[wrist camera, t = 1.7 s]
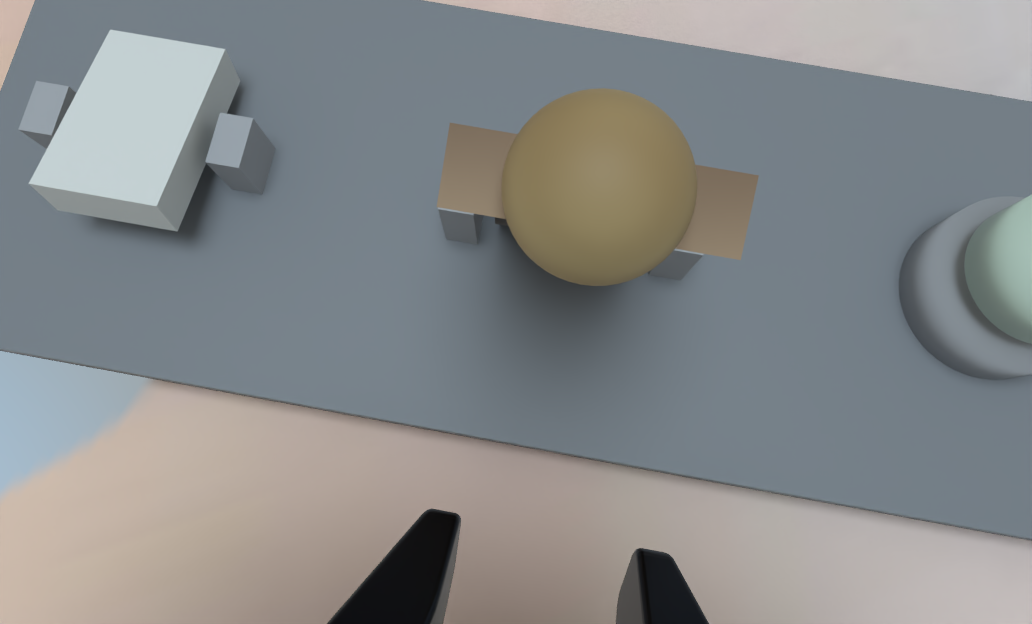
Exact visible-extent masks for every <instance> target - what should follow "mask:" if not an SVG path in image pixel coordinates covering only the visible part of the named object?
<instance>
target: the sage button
mask: <svg viewBox="0 0 1032 624" xmlns="http://www.w3.org/2000/svg"><path fill="white" fill-rule="evenodd" d="M964 268H965V277H966V282H967V285H968V288H969V291H970V293H971V296H972V298H973V300H974V301H975V303H976V305H977V306H978V308H979V309H980V310H981V312H982V313H983V314H984V316H985V317H986V318H987V319H988V320H989V321H990V322H991V323H992V324H994V325H995V326H996V327H997V328H998V329H1000V330H1001V331H1003V332H1004V333H1006V334H1007V335H1009V336H1011V337H1013V338H1015V339H1018V340H1020V341H1023V342H1026V343H1030V344H1032V195H1030V196H1028V197H1026V198H1024V199H1022V200H1020V201H1019V202H1017V203H1015V204H1013V205H1011V206H1009V207H1007V208H1005V209H1003V210H1001V211H1000V212H998V213H996V214H994V215H992V216H991V217H989V218H987V219H986V220H985V221H984V222H983V223H981V224H980V226H979V227H978V228H977V229H976V230H975V232H974V233H973V235H972V236H971V238H970V241H969V243H968V245H967V249H966V253H965V261H964Z"/></svg>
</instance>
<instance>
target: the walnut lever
mask: <svg viewBox="0 0 1032 624" xmlns="http://www.w3.org/2000/svg"><path fill="white" fill-rule="evenodd" d="M758 177H759V175H753V174H748V173H742V172H736V171H730V170H724V169H718V168H713V167H707V166H701V165H695V162H694V158H693V154H692V152H691V149H690V147H689V144H688V142H687V140H686V138H685V137H684V135H683V133H682V131H681V130H680V129H679V127H678V126H677V125H676V123H675V122H674V121H673V120H672V119H671V118H670V117H669V116H668V115H667V114H666V113H665V112H664V111H663V110H662V109H660V108H659V107H658V106H656V105H655V104H653V103H652V102H650V101H648V100H646V99H644V98H643V97H640V96H638V95H635V94H632V93H629V92H625V91H621V90H616V89H606V88H600V89H587V90H581V91H577V92H573V93H570V94H567V95H564V96H562V97H560V98H558V99H556V100H554V101H552V102H551V103H549V104H547V105H546V106H544V107H543V108H542V109H540V110H539V111H538V112H537V113H536V114H534V115H533V116H532V117H531V118H530V119H529V120H528V122H527V123H526V124H525V125H524V126H523V127H522V129H521V130H520V132H519V133H518V134H514V133H508V132H502V131H496V130H491V129H485V128H479V127H473V126H467V125H461V124H456V123H450V125H449V131H448V138H447V144H446V150H445V157H444V163H443V169H442V176H441V182H440V189H439V195H438V201H437V207H439V208H445V209H451V210H457V211H462V212H468V213H474V214H479V215H485V216H491V217H495V224H498V225H504V226H509V228H510V230H511V233H512V235H513V236H514V238H515V240H516V241H517V243H518V245H519V246H520V247H521V249H522V250H523V251H524V252H525V254H526V255H527V256H528V257H529V258H530V259H531V260H532V261H533V262H534V263H536V264H537V265H538V266H540V267H541V268H542V269H544V270H545V271H547V272H548V273H550V274H552V275H554V276H556V277H558V278H561V279H563V280H566V281H568V282H572V283H576V284H580V285H589V286H608V285H614V284H620V283H623V282H627V281H630V280H633V279H635V278H637V277H640V276H642V275H644V274H645V273H647V272H649V271H651V270H652V269H654V268H655V267H656V266H658V265H659V264H660V263H661V262H663V261H664V260H665V259H666V258H667V257H668V256H669V255H670V254H671V253H672V252H673V250H674V249H680V250H685V251H691V252H697V253H703V254H708V255H714V256H720V257H725V258H731V259H737V260H741V256H742V252H743V247H744V242H745V238H746V233H747V228H748V224H749V219H750V215H751V210H752V205H753V201H754V196H755V191H756V187H757V182H758Z"/></svg>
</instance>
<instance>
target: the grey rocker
mask: <svg viewBox="0 0 1032 624" xmlns="http://www.w3.org/2000/svg"><path fill="white" fill-rule="evenodd" d="M239 83H240V79H239V77H238V75H237V73H236V71H235V68H234V66H233V64H232V62H231V60H230V58H229V56H228V54H227V51H226V49H222V48H216V47H210V46H204V45H198V44H193V43H187V42H181V41H175V40H169V39H163V38H157V37H151V36H145V35H140V34H134V33H128V32H122V31H116V30H110V31H109V33H108V35H107V36H106V38H105V40H104V42H103V44H102V46H101V48H100V50H99V52H98V53H97V55H96V57H95V59H94V61H93V63H92V65H91V67H90V69H89V70H88V72H87V74H86V76H85V78H84V80H83V82H82V84H81V86H80V87H79V89H78V91H77V93H76V95H75V97H74V99H73V101H72V103H71V104H70V106H69V108H68V110H67V112H66V114H65V116H64V118H63V120H62V121H61V123H60V125H59V127H58V129H57V131H56V133H55V135H54V137H53V138H52V140H51V142H50V144H49V146H48V148H47V150H46V152H45V154H44V155H43V157H42V159H41V161H40V163H39V165H38V167H37V169H36V171H35V172H34V174H33V176H32V178H31V180H30V182H29V184H30V185H31V186H32V187H33V188H34V189H35V190H36V191H37V192H38V193H39V194H40V195H42V196H43V197H44V198H45V199H46V200H47V201H48V202H49V203H50V204H51V205H52V206H54V207H55V208H56V209H57V210H59V211H65V212H70V213H76V214H82V215H87V216H93V217H98V218H104V219H110V220H115V221H121V222H127V223H132V224H138V225H143V226H149V227H155V228H160V229H166V230H172V231H177V232H178V229H179V227H180V224H181V222H182V220H183V217H184V215H185V212H186V210H187V208H188V205H189V203H190V200H191V198H192V196H193V193H194V191H195V189H196V186H197V184H198V181H199V179H200V177H201V174H202V172H203V169H204V167H205V165H206V163H205V161H206V157H207V154H208V151H209V148H210V144H211V141H212V138H213V134H214V131H215V128H216V124H217V121H218V118H219V114H220V113H226V114H227V112H228V109H229V107H230V105H231V102H232V100H233V97H234V95H235V93H236V90H237V88H238V86H239Z"/></svg>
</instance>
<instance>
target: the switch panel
mask: <svg viewBox="0 0 1032 624" xmlns="http://www.w3.org/2000/svg"><path fill="white" fill-rule="evenodd" d="M110 30H116V31H122V32H128V33H134V34H140V35H145V36H151V37H157V38H163V39H169V40H175V41H181V42H187V43H193V44H198V45H204V46H210V47H216V48H222V49H226V51H227V54H228V56H229V58H230V60H231V62H232V64H233V66H234V68H235V71H236V73H237V75H238V77H239V79H240V83H239V86H238V88H237V90H236V93H235V95H234V97H233V100H232V102H231V105H230V107H229V109H228V112H227V114H226V113H220V114H219V118H218V121H217V124H216V128H215V131H214V134H213V138H212V141H211V144H210V148H209V151H208V154H207V157H206V161H205V163H206V165H205V167H204V169H203V172H202V174H201V177H200V179H199V181H198V184H197V186H196V189H195V191H194V193H193V196H192V198H191V200H190V203H189V205H188V208H187V210H186V212H185V215H184V217H183V220H182V222H181V224H180V227H179V229H178V232H177V231H172V230H166V229H160V228H155V227H149V226H143V225H138V224H132V223H127V222H121V221H115V220H110V219H104V218H98V217H93V216H87V215H82V214H76V213H70V212H65V211H59V210H57V209H56V208H55V207H54V206H52V205H51V204H50V203H49V202H48V201H47V200H46V199H45V198H44V197H43V196H42V195H40V194H39V193H38V192H37V191H36V190H35V189H34V188H33V187H32V186H31V185H30V184H29V182H30V180H31V178H32V176H33V174H34V172H35V171H36V169H37V167H38V165H39V163H40V161H41V159H42V157H43V155H44V154H45V152H46V150H47V148H48V146H49V144H50V142H51V140H52V138H53V137H54V135H55V133H56V131H57V129H58V127H59V125H60V123H61V121H62V120H63V118H64V116H65V114H66V112H67V110H68V108H69V106H70V104H71V103H72V101H73V99H74V97H75V95H76V93H77V91H78V89H79V87H80V86H81V84H82V82H83V80H84V78H85V76H86V74H87V72H88V70H89V69H90V67H91V65H92V63H93V61H94V59H95V57H96V55H97V53H98V52H99V50H100V48H101V46H102V44H103V42H104V40H105V38H106V36H107V35H108V33H109V31H110ZM600 88H606V89H616V90H621V91H625V92H629V93H632V94H635V95H638V96H640V97H643V98H644V99H646V100H648V101H650V102H652V103H653V104H655V105H656V106H658V107H659V108H660V109H662V110H663V111H664V112H665V113H666V114H667V115H668V116H669V117H670V118H671V119H672V120H673V121H674V122H675V123H676V125H677V126H678V127H679V129H680V130H681V131H682V133H683V135H684V137H685V138H686V140H687V142H688V144H689V147H690V149H691V152H692V154H693V158H694V162H695V165H701V166H707V167H713V168H718V169H724V170H730V171H736V172H742V173H748V174H753V175H759V177H758V182H757V187H756V191H755V196H754V201H753V205H752V210H751V215H750V219H749V224H748V228H747V233H746V238H745V242H744V247H743V252H742V256H741V260H737V259H731V258H725V257H720V256H714V255H708V254H703V253H697V252H691V251H685V250H680V249H674V250H673V252H672V253H671V254H670V255H669V256H668V257H667V258H666V259H665V260H664V261H663V262H661V263H660V264H659V265H658V266H656V267H655V268H654V269H652V270H651V271H649V272H647V273H645V274H644V275H642V276H640V277H637V278H635V279H633V280H630V281H627V282H623V283H620V284H614V285H608V286H589V285H580V284H576V283H572V282H568V281H566V280H563V279H561V278H558V277H556V276H554V275H552V274H550V273H548V272H547V271H545V270H544V269H542V268H541V267H540V266H538V265H537V264H536V263H534V262H533V261H532V260H531V259H530V258H529V257H528V256H527V255H526V254H525V252H524V251H523V250H522V249H521V247H520V246H519V245H518V243H517V241H516V240H515V238H514V236H513V235H512V233H511V230H510V228H509V226H504V225H498V224H495V217H491V216H485V215H479V214H474V213H468V212H462V211H457V210H451V209H445V208H439V207H437V201H438V195H439V189H440V182H441V176H442V169H443V163H444V157H445V150H446V144H447V138H448V131H449V125H450V123H456V124H461V125H467V126H473V127H479V128H485V129H491V130H496V131H502V132H508V133H514V134H518V133H519V132H520V130H521V129H522V127H523V126H524V125H525V124H526V123H527V122H528V120H529V119H530V118H531V117H532V116H533V115H534V114H536V113H537V112H538V111H539V110H540V109H542V108H543V107H544V106H546V105H547V104H549V103H551V102H552V101H554V100H556V99H558V98H560V97H562V96H564V95H567V94H570V93H573V92H577V91H581V90H587V89H600ZM1030 195H1032V102H1030V101H1024V100H1018V99H1012V98H1006V97H1000V96H994V95H988V94H982V93H976V92H970V91H964V90H958V89H952V88H946V87H940V86H934V85H928V84H922V83H916V82H910V81H904V80H898V79H892V78H886V77H880V76H874V75H868V74H862V73H856V72H850V71H844V70H838V69H832V68H826V67H820V66H814V65H808V64H802V63H796V62H790V61H784V60H778V59H772V58H766V57H760V56H754V55H747V54H741V53H735V52H729V51H723V50H717V49H711V48H705V47H699V46H693V45H687V44H681V43H675V42H669V41H663V40H657V39H651V38H645V37H639V36H633V35H627V34H621V33H615V32H609V31H603V30H597V29H591V28H585V27H579V26H573V25H567V24H561V23H555V22H549V21H543V20H537V19H531V18H525V17H519V16H513V15H507V14H501V13H495V12H489V11H483V10H477V9H471V8H465V7H459V6H453V5H447V4H441V3H435V2H429V1H423V0H35V2H34V5H33V7H32V10H31V12H30V15H29V18H28V20H27V23H26V26H25V28H24V31H23V33H22V36H21V39H20V41H19V44H18V46H17V49H16V52H15V54H14V57H13V60H12V62H11V65H10V67H9V70H8V73H7V75H6V78H5V81H4V83H3V86H2V88H1V91H0V351H5V352H10V353H16V354H21V355H27V356H32V357H38V358H43V359H49V360H54V361H60V362H65V363H71V364H76V365H81V366H86V367H92V368H97V369H103V370H108V371H114V372H119V373H124V374H130V375H136V376H141V377H146V378H152V379H157V380H163V381H168V382H173V383H179V384H184V385H190V386H195V387H201V388H206V389H211V390H217V391H222V392H228V393H233V394H239V395H244V396H249V397H255V398H260V399H266V400H271V401H277V402H282V403H287V404H293V405H298V406H304V407H309V408H315V409H320V410H325V411H331V412H336V413H342V414H347V415H353V416H358V417H363V418H369V419H374V420H380V421H385V422H391V423H396V424H401V425H407V426H412V427H418V428H423V429H429V430H434V431H440V432H445V433H450V434H456V435H461V436H467V437H472V438H478V439H483V440H488V441H494V442H499V443H505V444H510V445H516V446H521V447H526V448H532V449H537V450H543V451H548V452H554V453H559V454H564V455H570V456H575V457H581V458H586V459H592V460H597V461H602V462H608V463H613V464H619V465H624V466H630V467H635V468H640V469H646V470H651V471H657V472H662V473H668V474H673V475H678V476H684V477H689V478H695V479H700V480H706V481H711V482H717V483H722V484H727V485H733V486H738V487H744V488H749V489H755V490H760V491H765V492H771V493H776V494H782V495H787V496H793V497H798V498H803V499H809V500H814V501H820V502H825V503H831V504H836V505H841V506H847V507H852V508H858V509H863V510H869V511H874V512H879V513H885V514H890V515H896V516H901V517H907V518H912V519H917V520H923V521H928V522H934V523H939V524H945V525H950V526H955V527H961V528H966V529H972V530H977V531H983V532H988V533H994V534H999V535H1004V536H1010V537H1015V538H1021V539H1026V540H1032V344H1030V343H1026V342H1023V341H1020V340H1018V339H1015V338H1013V337H1011V336H1009V335H1007V334H1006V333H1004V332H1003V331H1001V330H1000V329H998V328H997V327H996V326H995V325H994V324H992V323H991V322H990V321H989V320H988V319H987V318H986V317H985V316H984V314H983V313H982V312H981V310H980V309H979V308H978V306H977V305H976V303H975V301H974V300H973V298H972V296H971V293H970V291H969V288H968V285H967V282H966V277H965V268H964V261H965V253H966V249H967V245H968V243H969V241H970V238H971V236H972V235H973V233H974V232H975V230H976V229H977V228H978V227H979V226H980V224H981V223H983V222H984V221H985V220H986V219H987V218H989V217H991V216H992V215H994V214H996V213H998V212H1000V211H1001V210H1003V209H1005V208H1007V207H1009V206H1011V205H1013V204H1015V203H1017V202H1019V201H1020V200H1022V199H1024V198H1026V197H1028V196H1030Z"/></svg>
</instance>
